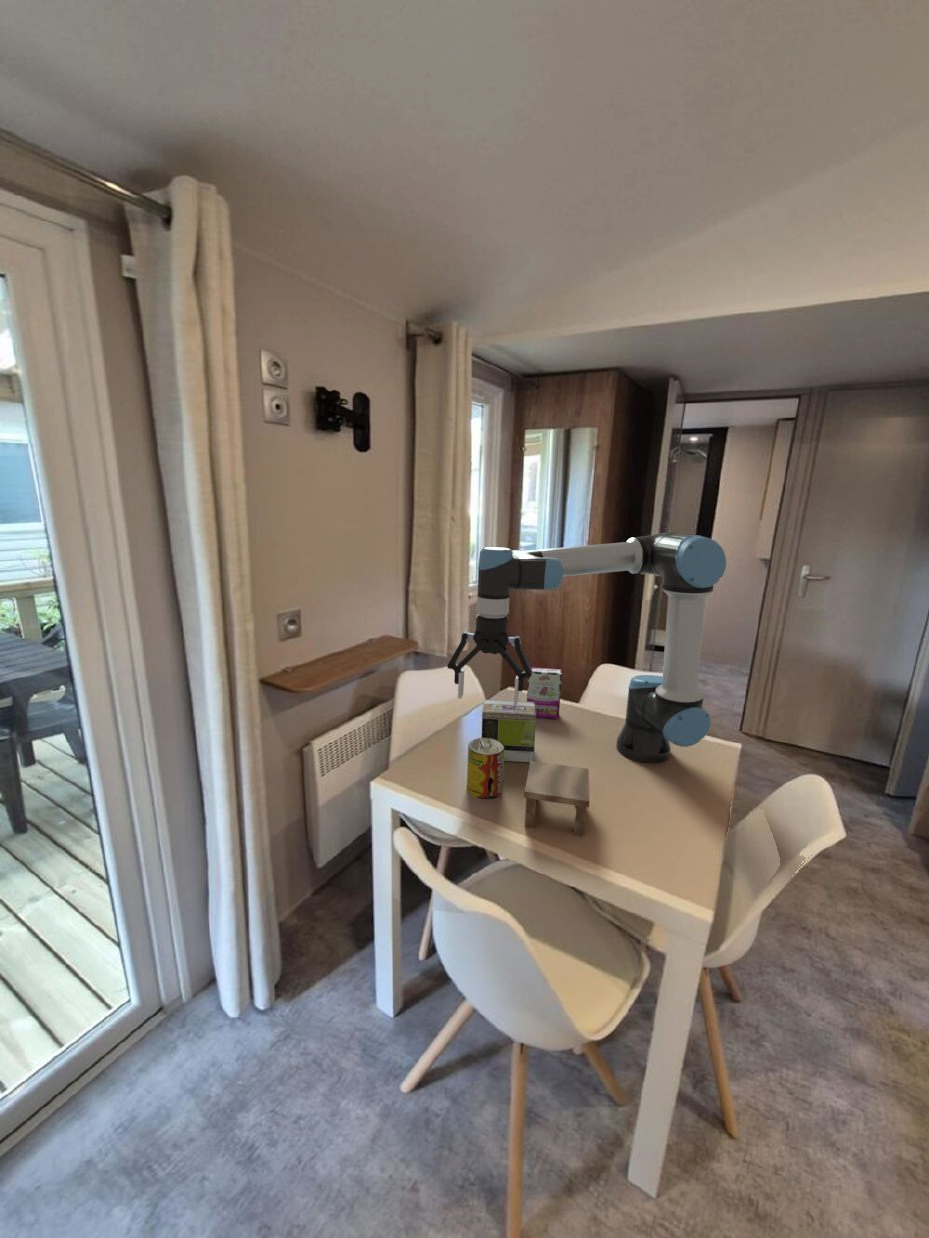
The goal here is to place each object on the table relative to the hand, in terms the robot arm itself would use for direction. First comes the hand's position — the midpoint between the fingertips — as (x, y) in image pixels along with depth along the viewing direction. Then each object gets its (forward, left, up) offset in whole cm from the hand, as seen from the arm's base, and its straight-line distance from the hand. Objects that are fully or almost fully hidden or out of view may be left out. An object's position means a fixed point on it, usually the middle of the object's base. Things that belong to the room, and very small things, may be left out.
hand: (487, 699), depth 123 cm
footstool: (-18, +6, -24) cm, 31 cm away
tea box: (-3, -20, -25) cm, 32 cm away
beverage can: (0, 0, -24) cm, 24 cm away
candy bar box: (-11, -50, -24) cm, 57 cm away
